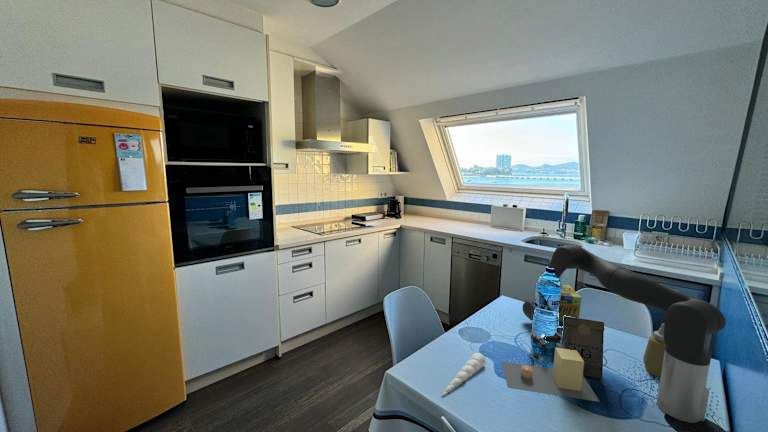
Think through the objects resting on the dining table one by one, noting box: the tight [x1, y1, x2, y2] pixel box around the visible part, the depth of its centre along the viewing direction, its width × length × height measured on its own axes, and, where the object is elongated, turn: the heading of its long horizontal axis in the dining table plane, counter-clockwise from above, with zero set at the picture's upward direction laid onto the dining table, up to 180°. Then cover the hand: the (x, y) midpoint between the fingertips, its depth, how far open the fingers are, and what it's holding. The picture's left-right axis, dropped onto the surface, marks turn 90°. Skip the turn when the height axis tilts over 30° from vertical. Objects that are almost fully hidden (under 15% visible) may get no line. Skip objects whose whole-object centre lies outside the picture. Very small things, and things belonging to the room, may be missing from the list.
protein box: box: [559, 284, 582, 327], centre depth 144 cm, size 10×15×16 cm
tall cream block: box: [552, 347, 585, 391], centre depth 101 cm, size 6×6×10 cm
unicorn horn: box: [441, 352, 487, 397], centre depth 103 cm, size 5×24×5 cm, turn 132°
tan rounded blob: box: [521, 364, 533, 380], centre depth 104 cm, size 4×4×3 cm
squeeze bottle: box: [642, 323, 666, 378], centre depth 107 cm, size 8×8×18 cm
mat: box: [501, 361, 601, 403], centre depth 103 cm, size 26×14×1 cm, turn 77°
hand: (558, 349), depth 110 cm, fingers open, 8 cm apart
